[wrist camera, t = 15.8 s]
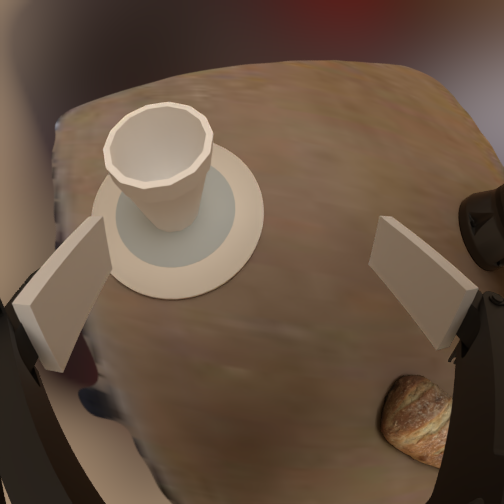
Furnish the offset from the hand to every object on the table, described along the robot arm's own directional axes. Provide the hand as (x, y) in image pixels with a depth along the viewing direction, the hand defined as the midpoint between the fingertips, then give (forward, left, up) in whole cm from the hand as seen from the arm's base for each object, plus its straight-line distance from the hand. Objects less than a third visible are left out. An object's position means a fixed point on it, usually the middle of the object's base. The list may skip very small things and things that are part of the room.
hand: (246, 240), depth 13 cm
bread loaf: (-8, +38, -22) cm, 44 cm away
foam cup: (-3, -13, -20) cm, 24 cm away
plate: (-3, -13, -21) cm, 25 cm away
